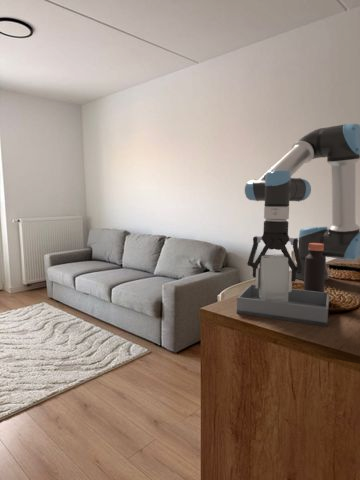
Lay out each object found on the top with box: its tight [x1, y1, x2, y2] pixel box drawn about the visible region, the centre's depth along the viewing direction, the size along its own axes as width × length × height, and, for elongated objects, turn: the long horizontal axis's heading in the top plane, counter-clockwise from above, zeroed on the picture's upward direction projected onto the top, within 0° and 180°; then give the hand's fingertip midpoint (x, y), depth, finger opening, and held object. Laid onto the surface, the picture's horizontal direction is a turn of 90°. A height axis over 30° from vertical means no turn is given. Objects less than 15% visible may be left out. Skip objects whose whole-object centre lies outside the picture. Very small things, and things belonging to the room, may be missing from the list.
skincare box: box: [259, 253, 290, 302], centre depth 108 cm, size 8×6×15 cm
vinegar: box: [303, 243, 327, 292], centre depth 118 cm, size 7×7×20 cm
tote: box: [236, 283, 330, 327], centre depth 107 cm, size 18×26×5 cm
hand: (273, 289), depth 108 cm, fingers open, 10 cm apart
